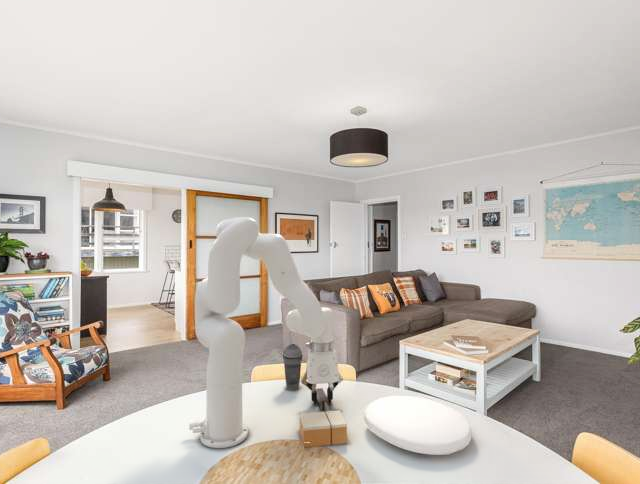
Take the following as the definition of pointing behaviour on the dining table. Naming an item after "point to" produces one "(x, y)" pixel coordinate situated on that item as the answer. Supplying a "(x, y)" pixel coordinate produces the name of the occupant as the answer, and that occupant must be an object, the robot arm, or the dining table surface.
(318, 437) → the cake
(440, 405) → the white round disc
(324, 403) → the knife
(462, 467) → the dining table surface
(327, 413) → the cake slice
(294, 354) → the beverage cup
